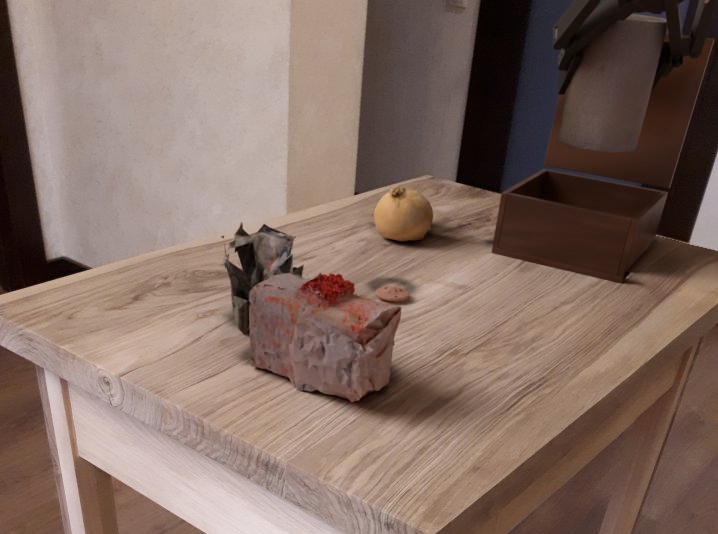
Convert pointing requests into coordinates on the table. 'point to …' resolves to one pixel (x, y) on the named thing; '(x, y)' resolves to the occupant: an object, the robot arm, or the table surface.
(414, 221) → the onion
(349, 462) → the table surface
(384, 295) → the cookie
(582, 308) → the table surface
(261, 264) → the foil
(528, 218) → the chest
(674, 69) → the chest lid
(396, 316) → the food item
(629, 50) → the pillar candle
